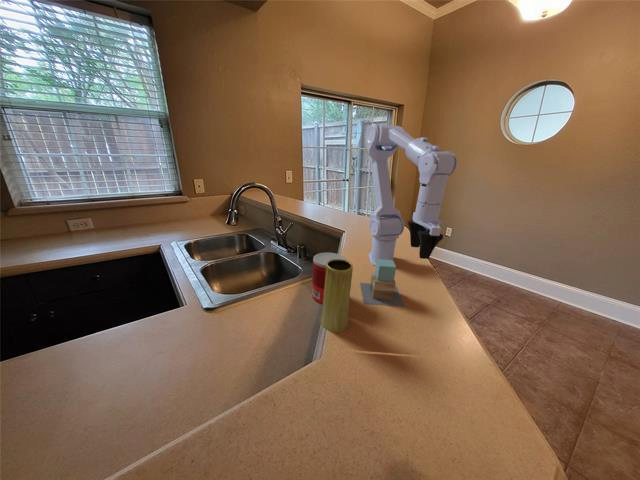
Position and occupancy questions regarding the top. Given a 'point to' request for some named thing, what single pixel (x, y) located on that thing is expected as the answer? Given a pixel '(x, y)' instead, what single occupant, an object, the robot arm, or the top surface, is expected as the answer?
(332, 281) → the vase
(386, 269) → the cube
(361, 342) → the top surface
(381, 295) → the tower base
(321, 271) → the canned food
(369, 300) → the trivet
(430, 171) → the robot arm
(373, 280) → the tower mid
